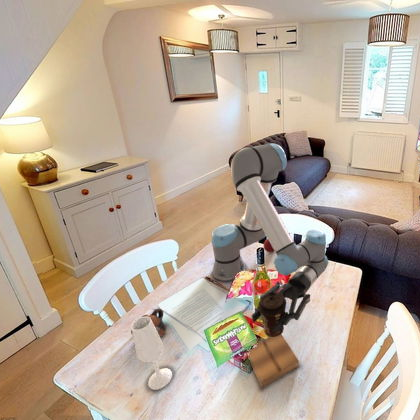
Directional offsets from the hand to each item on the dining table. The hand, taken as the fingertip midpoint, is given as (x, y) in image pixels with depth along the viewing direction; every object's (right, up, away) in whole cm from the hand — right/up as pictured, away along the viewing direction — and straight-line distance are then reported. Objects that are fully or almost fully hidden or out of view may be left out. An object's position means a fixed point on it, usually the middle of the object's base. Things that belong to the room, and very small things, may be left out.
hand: (263, 324), depth 81 cm
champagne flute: (-33, -18, +3) cm, 38 cm away
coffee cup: (+2, -5, +7) cm, 9 cm away
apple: (-7, +12, +66) cm, 68 cm away
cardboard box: (+1, -16, +9) cm, 18 cm away
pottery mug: (-44, -10, +18) cm, 49 cm away
